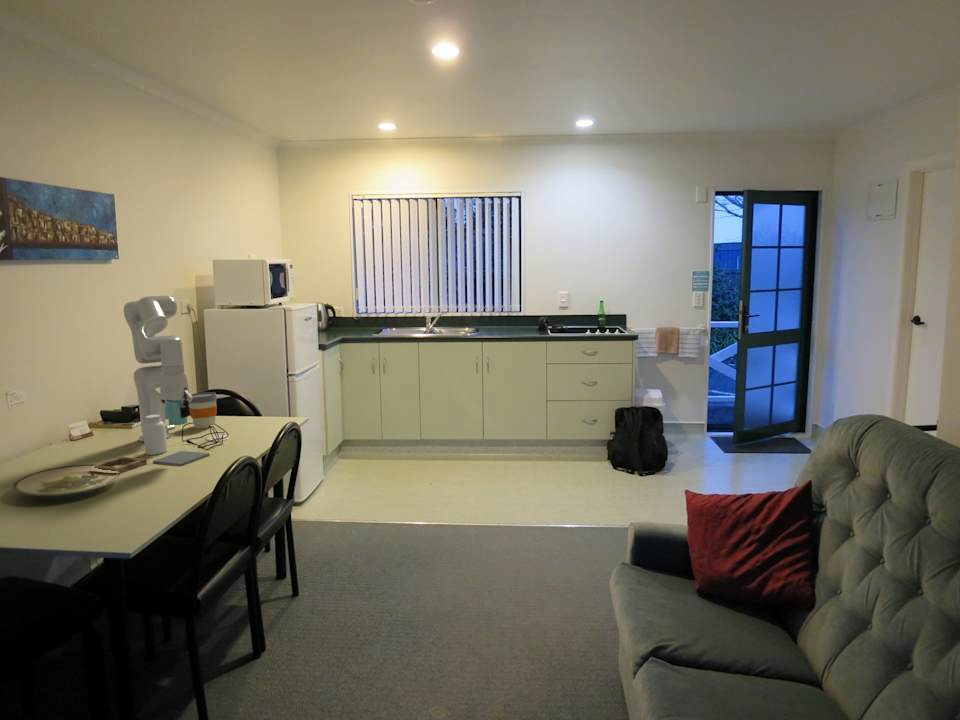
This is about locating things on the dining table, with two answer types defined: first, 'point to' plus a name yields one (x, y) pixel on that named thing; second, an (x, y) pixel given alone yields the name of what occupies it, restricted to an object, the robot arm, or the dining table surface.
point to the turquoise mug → (174, 413)
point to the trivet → (181, 458)
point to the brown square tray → (129, 462)
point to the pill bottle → (154, 435)
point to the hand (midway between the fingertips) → (177, 416)
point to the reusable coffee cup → (203, 409)
